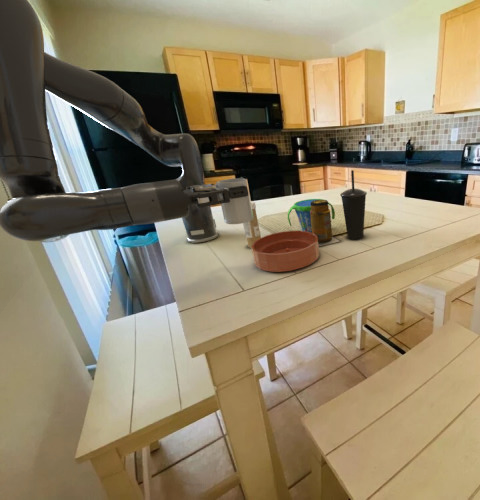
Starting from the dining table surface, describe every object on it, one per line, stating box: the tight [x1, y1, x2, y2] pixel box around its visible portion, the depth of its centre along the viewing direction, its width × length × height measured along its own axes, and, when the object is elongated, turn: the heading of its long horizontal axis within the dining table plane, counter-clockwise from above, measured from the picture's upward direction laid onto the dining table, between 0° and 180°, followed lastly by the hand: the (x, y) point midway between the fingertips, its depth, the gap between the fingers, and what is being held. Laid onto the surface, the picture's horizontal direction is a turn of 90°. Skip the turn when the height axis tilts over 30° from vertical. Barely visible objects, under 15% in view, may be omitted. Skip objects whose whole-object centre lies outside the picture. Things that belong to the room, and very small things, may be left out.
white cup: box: [215, 177, 254, 225], centre depth 61 cm, size 6×6×9 cm
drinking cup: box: [340, 170, 368, 241], centre depth 80 cm, size 8×8×20 cm
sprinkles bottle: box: [242, 200, 262, 249], centre depth 81 cm, size 5×5×13 cm
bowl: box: [250, 230, 320, 273], centre depth 71 cm, size 17×17×5 cm
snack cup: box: [287, 198, 336, 233], centre depth 90 cm, size 16×10×10 cm
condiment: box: [310, 199, 340, 247], centre depth 81 cm, size 7×8×12 cm
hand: (242, 188), depth 61 cm, fingers closed on white cup, 6 cm apart
